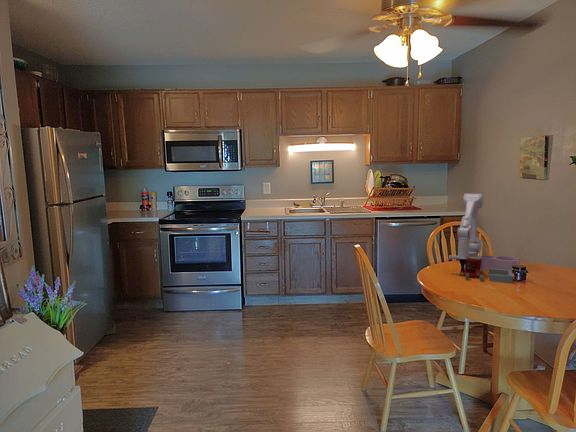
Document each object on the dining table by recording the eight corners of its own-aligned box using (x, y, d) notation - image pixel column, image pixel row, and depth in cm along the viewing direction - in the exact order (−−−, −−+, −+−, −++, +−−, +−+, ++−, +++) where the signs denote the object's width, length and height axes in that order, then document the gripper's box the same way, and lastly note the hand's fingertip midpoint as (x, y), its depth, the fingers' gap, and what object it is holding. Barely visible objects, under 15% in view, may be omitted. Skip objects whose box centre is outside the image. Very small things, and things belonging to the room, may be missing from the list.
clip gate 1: (466, 271, 230) (466, 266, 230) (469, 271, 229) (469, 267, 229) (465, 279, 213) (465, 275, 213) (468, 280, 212) (468, 275, 212)
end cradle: (488, 274, 223) (488, 268, 222) (510, 276, 218) (511, 270, 218) (489, 280, 211) (489, 274, 210) (512, 283, 206) (512, 276, 206)
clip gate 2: (480, 272, 227) (480, 268, 227) (483, 272, 226) (483, 268, 226) (479, 281, 210) (480, 276, 210) (483, 281, 209) (483, 277, 209)
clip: (480, 270, 232) (480, 258, 231) (481, 265, 243) (481, 254, 242) (519, 274, 223) (520, 262, 222) (519, 268, 234) (519, 257, 233)
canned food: (476, 273, 223) (479, 255, 221) (481, 278, 216) (484, 259, 214) (462, 272, 224) (464, 253, 222) (466, 277, 217) (469, 257, 215)
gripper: (449, 248, 220) (447, 273, 221) (478, 251, 213) (476, 276, 215) (450, 246, 226) (448, 270, 228) (478, 248, 220) (477, 273, 221)
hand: (462, 272), depth 222 cm, fingers closed, pressing on canned food
